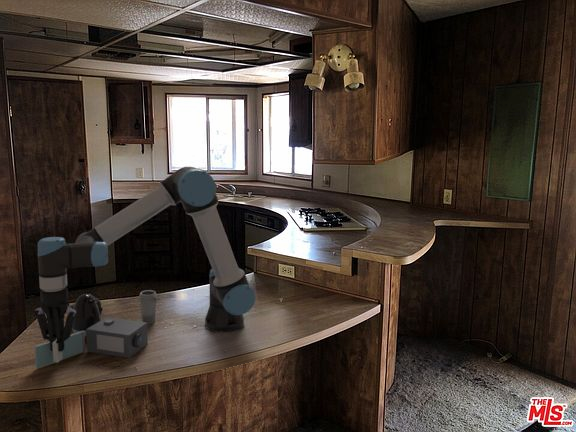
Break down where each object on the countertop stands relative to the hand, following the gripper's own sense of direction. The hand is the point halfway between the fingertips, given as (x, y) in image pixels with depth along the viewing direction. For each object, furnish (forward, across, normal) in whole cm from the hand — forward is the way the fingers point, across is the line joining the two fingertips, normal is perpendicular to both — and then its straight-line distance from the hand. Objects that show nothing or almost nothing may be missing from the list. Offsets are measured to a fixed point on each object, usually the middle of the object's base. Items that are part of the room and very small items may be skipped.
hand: (58, 360), depth 143 cm
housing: (+2, -13, -14) cm, 19 cm away
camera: (+2, +9, -36) cm, 37 cm away
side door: (+2, +1, -4) cm, 5 cm away
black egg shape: (+2, +3, -24) cm, 24 cm away
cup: (+2, -15, -38) cm, 40 cm away
